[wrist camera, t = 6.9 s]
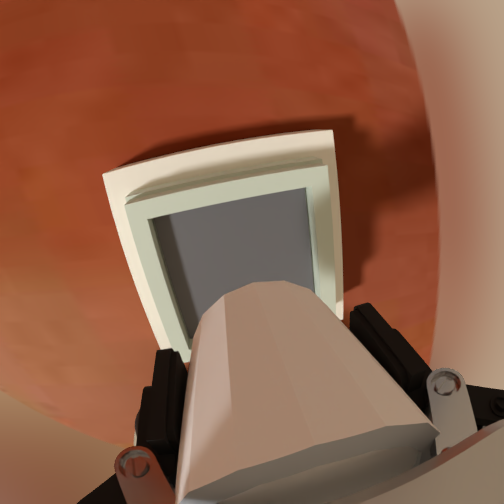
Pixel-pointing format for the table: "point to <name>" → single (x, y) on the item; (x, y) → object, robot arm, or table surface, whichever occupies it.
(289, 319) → the white short cylinder
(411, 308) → the table surface
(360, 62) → the table surface
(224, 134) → the table surface
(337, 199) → the stand
